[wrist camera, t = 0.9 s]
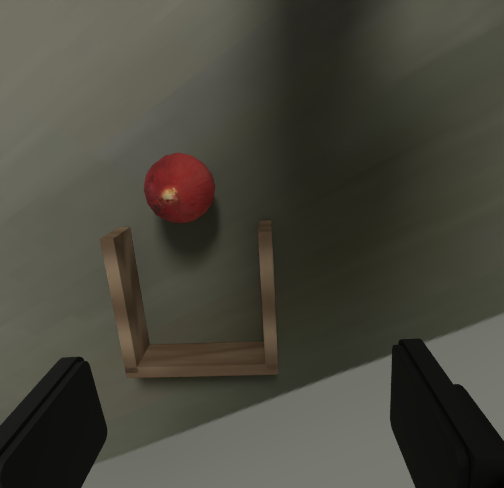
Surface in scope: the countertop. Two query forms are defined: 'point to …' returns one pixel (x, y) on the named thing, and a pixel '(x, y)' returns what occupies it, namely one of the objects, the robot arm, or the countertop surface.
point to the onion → (179, 188)
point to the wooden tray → (185, 355)
